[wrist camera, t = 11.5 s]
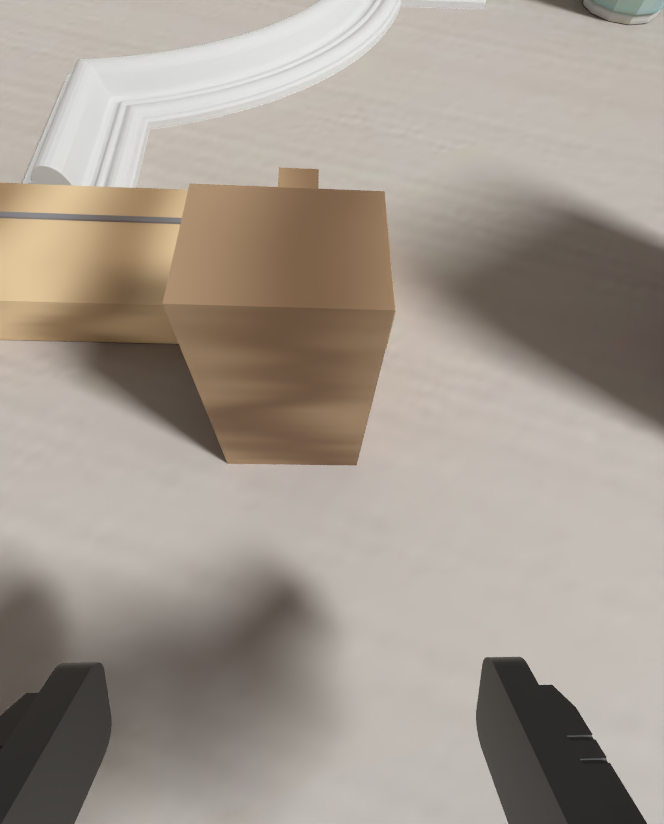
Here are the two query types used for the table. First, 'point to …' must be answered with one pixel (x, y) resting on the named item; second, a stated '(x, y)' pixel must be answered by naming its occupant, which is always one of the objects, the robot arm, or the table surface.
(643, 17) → the disposable coffee cup
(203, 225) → the wooden block with tab
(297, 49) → the molding
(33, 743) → the robot arm
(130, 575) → the table surface
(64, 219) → the plank
